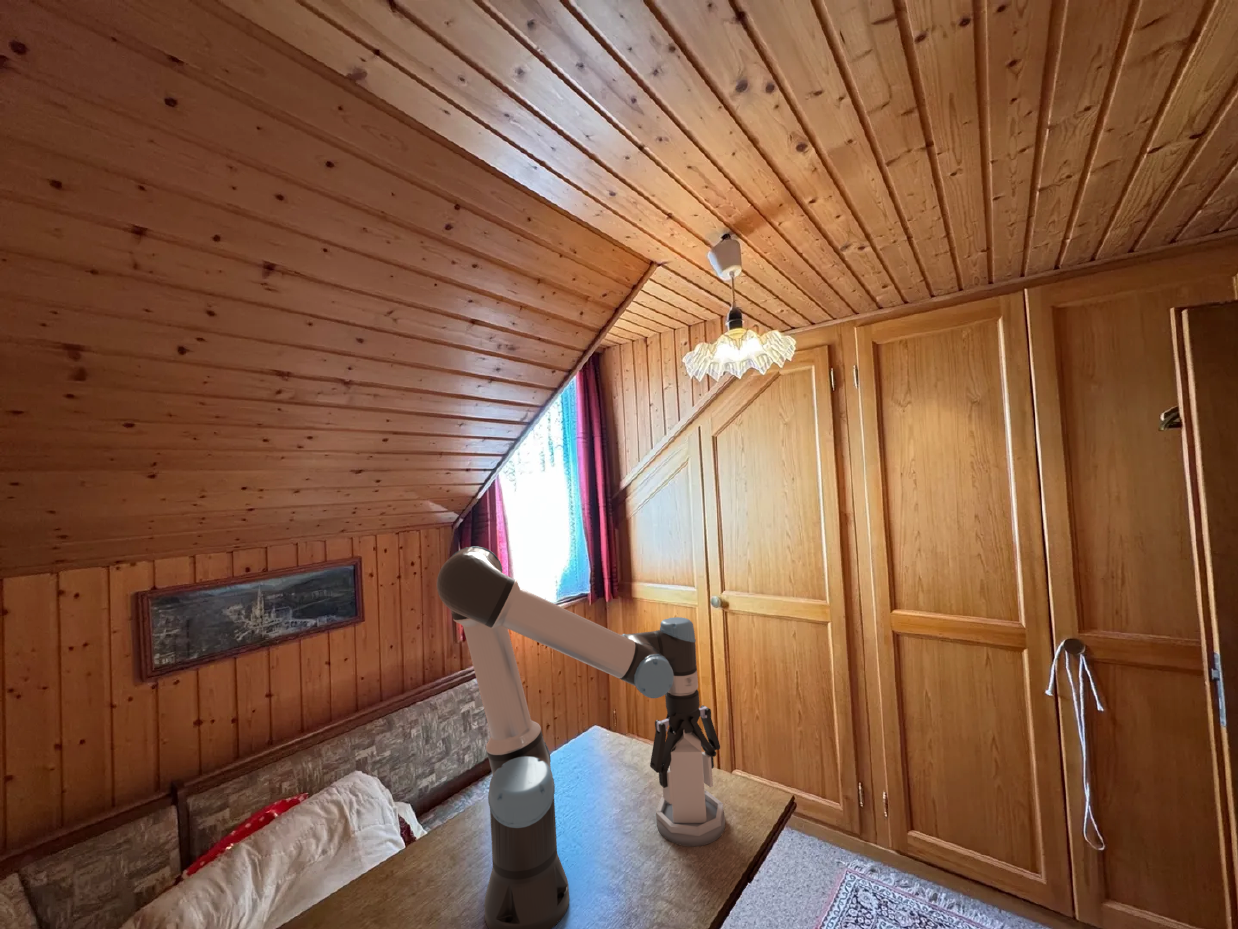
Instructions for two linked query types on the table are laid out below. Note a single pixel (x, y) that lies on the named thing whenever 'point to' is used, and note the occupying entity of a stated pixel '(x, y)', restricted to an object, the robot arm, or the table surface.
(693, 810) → the milk carton
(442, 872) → the table surface
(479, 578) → the robot arm
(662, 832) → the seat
